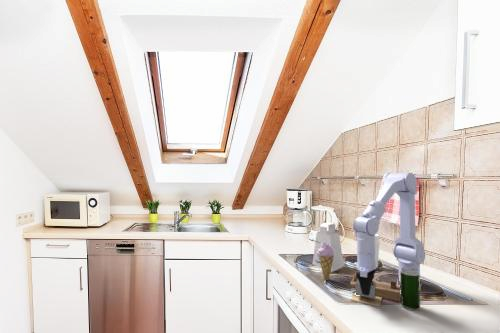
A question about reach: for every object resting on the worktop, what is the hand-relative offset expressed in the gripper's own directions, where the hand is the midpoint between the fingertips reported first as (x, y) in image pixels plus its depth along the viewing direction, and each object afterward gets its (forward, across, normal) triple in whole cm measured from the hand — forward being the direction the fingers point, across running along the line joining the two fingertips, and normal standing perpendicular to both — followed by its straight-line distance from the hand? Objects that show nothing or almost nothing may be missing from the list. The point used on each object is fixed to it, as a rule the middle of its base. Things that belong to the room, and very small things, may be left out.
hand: (366, 291), depth 95 cm
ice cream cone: (+3, -12, -17) cm, 21 cm away
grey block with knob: (+1, 0, 0) cm, 1 cm away
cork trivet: (+3, 0, 0) cm, 3 cm away
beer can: (+3, -1, +13) cm, 13 cm away
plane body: (+3, -8, +2) cm, 8 cm away
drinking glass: (+3, -38, -2) cm, 38 cm away
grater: (+3, -28, -20) cm, 35 cm away
